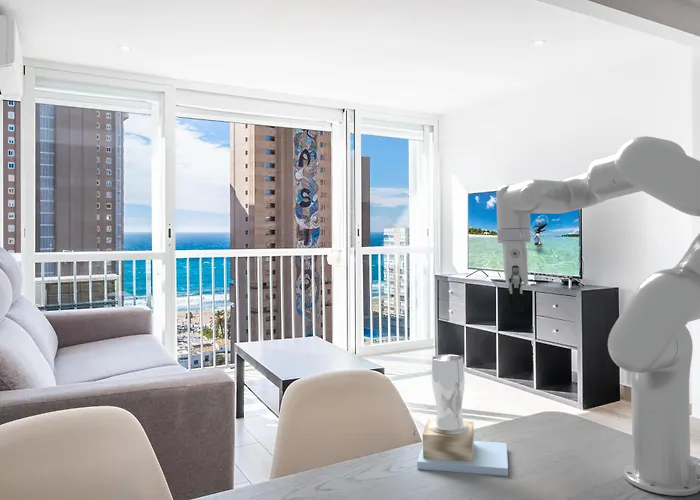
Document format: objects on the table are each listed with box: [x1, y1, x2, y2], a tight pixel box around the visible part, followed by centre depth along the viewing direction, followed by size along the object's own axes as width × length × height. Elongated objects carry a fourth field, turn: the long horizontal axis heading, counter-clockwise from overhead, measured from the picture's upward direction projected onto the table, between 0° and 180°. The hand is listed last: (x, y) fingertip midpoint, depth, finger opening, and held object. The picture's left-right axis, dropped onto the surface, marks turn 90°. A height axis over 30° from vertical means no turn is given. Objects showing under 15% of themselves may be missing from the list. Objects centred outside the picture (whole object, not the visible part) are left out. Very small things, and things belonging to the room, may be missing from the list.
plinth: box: [422, 418, 475, 462], centre depth 117 cm, size 10×10×5 cm
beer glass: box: [431, 354, 466, 432], centre depth 116 cm, size 7×7×15 cm
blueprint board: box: [416, 440, 509, 477], centre depth 116 cm, size 18×14×2 cm
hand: (515, 309), depth 128 cm, fingers open, 9 cm apart
